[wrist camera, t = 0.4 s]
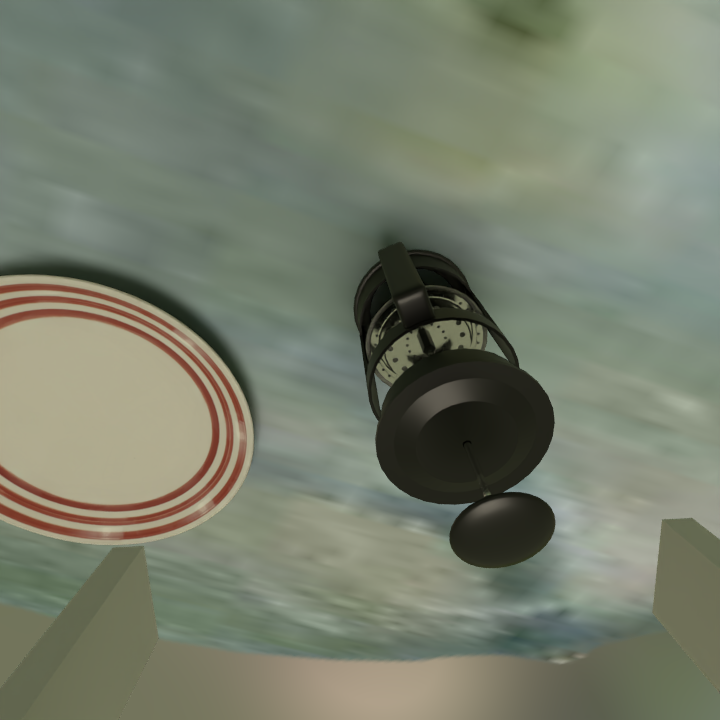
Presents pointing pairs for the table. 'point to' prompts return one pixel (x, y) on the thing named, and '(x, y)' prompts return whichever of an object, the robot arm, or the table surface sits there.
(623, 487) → the table surface
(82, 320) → the dinner plate
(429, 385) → the french press
